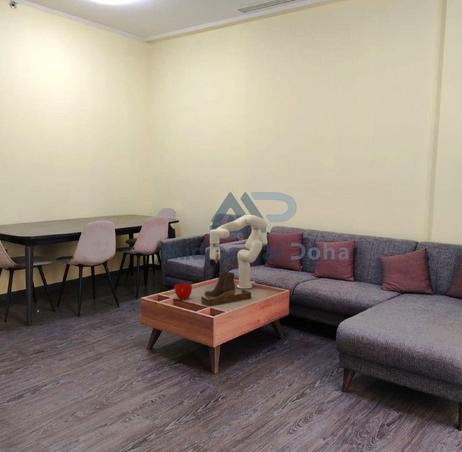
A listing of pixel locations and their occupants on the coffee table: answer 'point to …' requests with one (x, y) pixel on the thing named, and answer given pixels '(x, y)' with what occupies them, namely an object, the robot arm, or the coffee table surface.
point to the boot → (223, 286)
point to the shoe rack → (226, 298)
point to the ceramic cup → (183, 291)
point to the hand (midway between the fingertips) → (214, 266)
